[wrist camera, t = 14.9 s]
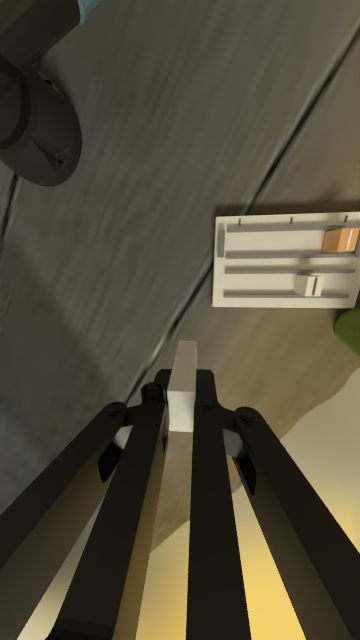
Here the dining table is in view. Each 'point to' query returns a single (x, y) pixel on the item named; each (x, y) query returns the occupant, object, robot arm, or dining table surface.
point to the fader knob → (340, 240)
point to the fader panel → (284, 262)
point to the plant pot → (349, 329)
